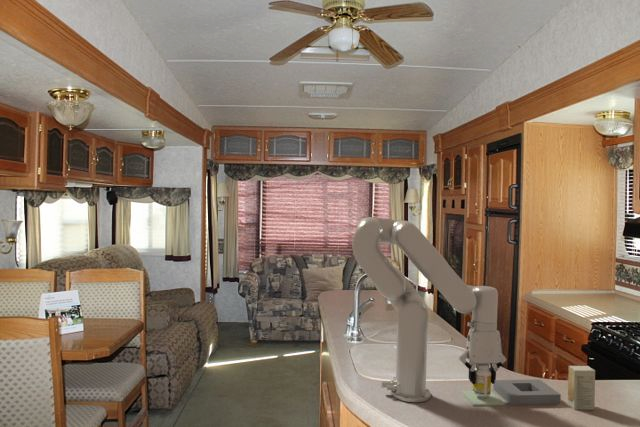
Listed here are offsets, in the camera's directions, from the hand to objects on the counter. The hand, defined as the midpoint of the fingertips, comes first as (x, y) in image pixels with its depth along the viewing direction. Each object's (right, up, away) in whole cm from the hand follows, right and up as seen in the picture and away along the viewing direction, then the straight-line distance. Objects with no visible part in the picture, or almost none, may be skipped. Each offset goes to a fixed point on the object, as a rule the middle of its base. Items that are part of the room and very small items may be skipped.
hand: (481, 381), depth 151 cm
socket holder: (+15, -5, +2) cm, 16 cm away
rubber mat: (0, -5, 0) cm, 5 cm away
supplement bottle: (0, -4, 0) cm, 4 cm away
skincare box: (+29, -6, -5) cm, 30 cm away
